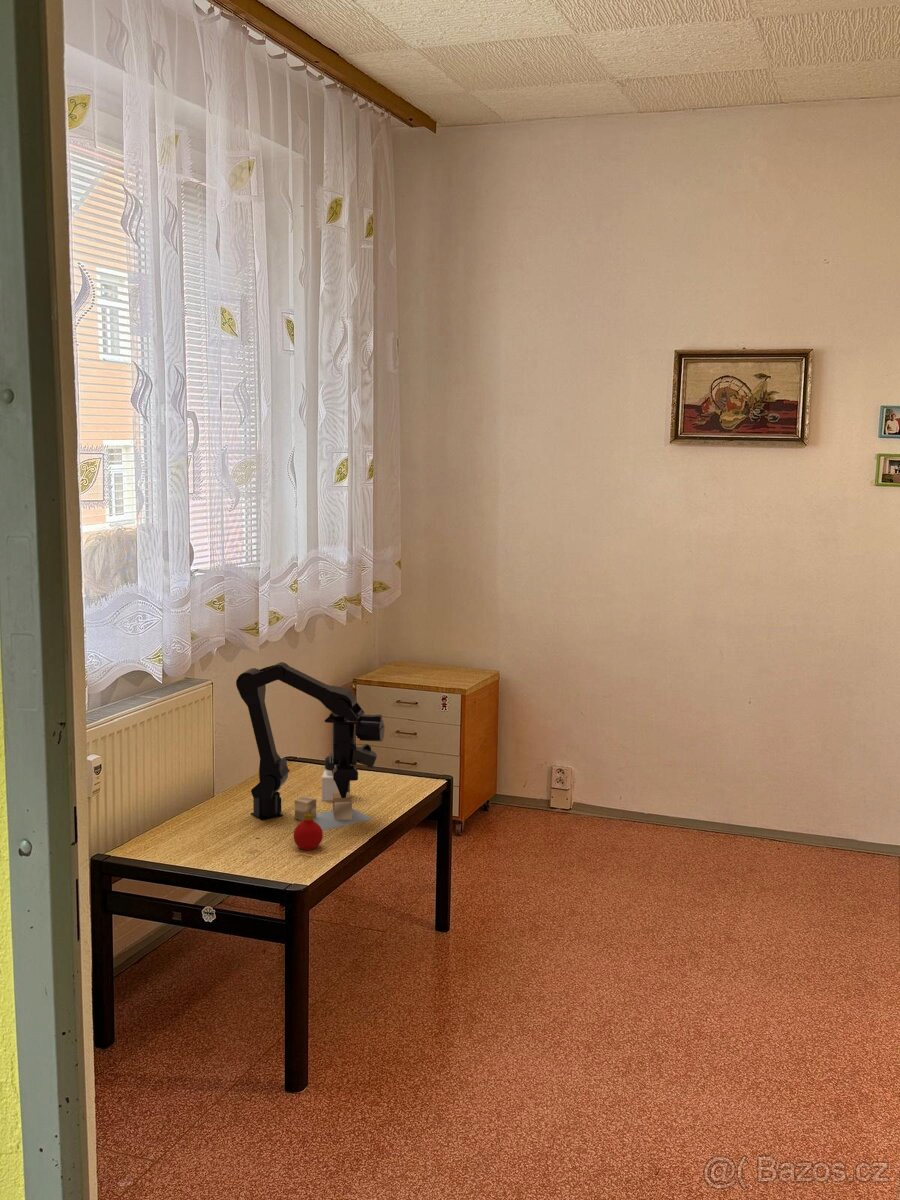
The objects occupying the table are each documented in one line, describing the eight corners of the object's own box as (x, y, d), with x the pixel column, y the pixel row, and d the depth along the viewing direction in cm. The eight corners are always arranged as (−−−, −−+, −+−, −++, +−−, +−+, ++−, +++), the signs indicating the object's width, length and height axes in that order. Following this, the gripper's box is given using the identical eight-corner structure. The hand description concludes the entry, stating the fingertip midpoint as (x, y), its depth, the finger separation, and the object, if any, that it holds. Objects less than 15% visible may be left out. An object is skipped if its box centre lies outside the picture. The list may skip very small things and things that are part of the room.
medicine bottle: (347, 802, 313) (347, 760, 311) (321, 802, 313) (321, 759, 311) (350, 794, 320) (350, 753, 318) (324, 794, 320) (324, 752, 318)
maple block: (306, 821, 296) (306, 802, 295) (294, 818, 298) (294, 800, 297) (316, 817, 299) (316, 798, 298) (304, 814, 301) (304, 796, 300)
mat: (321, 832, 289) (321, 830, 289) (297, 819, 298) (297, 818, 298) (373, 820, 299) (373, 818, 299) (347, 808, 308) (348, 806, 308)
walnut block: (351, 802, 297) (349, 792, 306) (334, 803, 297) (332, 792, 305) (351, 819, 298) (349, 808, 307) (334, 819, 297) (332, 808, 306)
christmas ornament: (308, 856, 272) (308, 816, 271) (287, 850, 276) (287, 810, 275) (328, 848, 278) (328, 809, 276) (307, 842, 282) (307, 803, 281)
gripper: (378, 748, 286) (377, 807, 288) (371, 729, 305) (371, 785, 307) (333, 749, 285) (333, 809, 287) (329, 730, 303) (329, 787, 305)
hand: (343, 797), depth 296 cm, fingers closed
